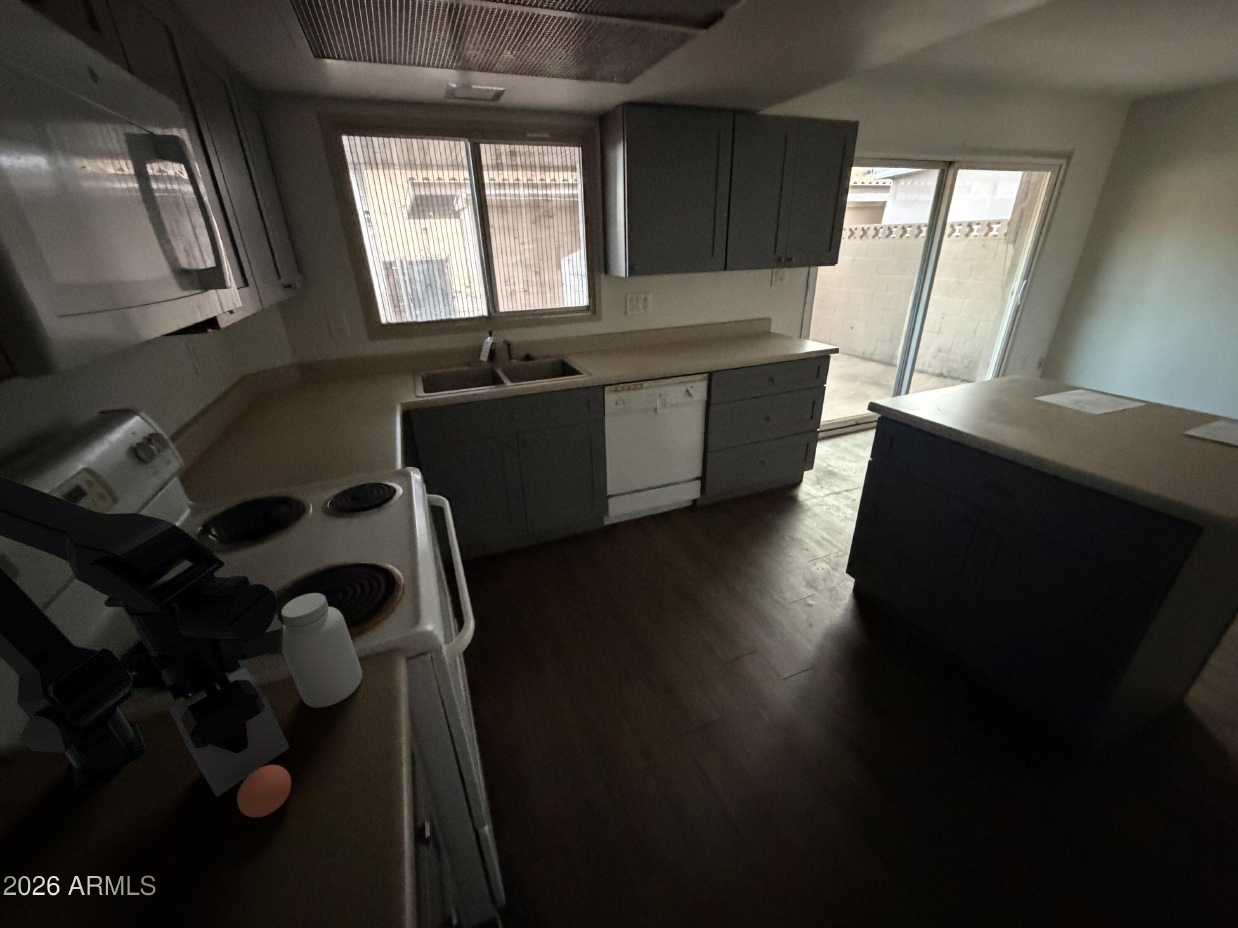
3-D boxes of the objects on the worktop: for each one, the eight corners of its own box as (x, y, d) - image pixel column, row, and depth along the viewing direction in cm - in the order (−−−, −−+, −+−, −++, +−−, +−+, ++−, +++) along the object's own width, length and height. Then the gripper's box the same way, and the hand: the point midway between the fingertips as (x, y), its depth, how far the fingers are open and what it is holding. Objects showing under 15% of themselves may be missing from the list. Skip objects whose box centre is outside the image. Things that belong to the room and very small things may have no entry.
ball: (236, 806, 52) (254, 837, 54) (288, 769, 56) (303, 800, 57) (224, 780, 55) (241, 810, 57) (274, 747, 59) (289, 776, 61)
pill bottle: (374, 666, 76) (347, 586, 70) (342, 710, 69) (309, 626, 63) (326, 664, 77) (295, 585, 71) (290, 708, 70) (252, 624, 64)
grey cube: (198, 759, 62) (169, 708, 58) (268, 716, 67) (244, 667, 64) (216, 797, 57) (185, 743, 54) (289, 747, 62) (265, 696, 59)
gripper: (292, 623, 54) (333, 724, 60) (238, 567, 65) (277, 657, 72) (162, 691, 47) (225, 798, 53) (126, 613, 58) (181, 710, 64)
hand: (231, 731), depth 60 cm, fingers closed on grey cube, 8 cm apart
